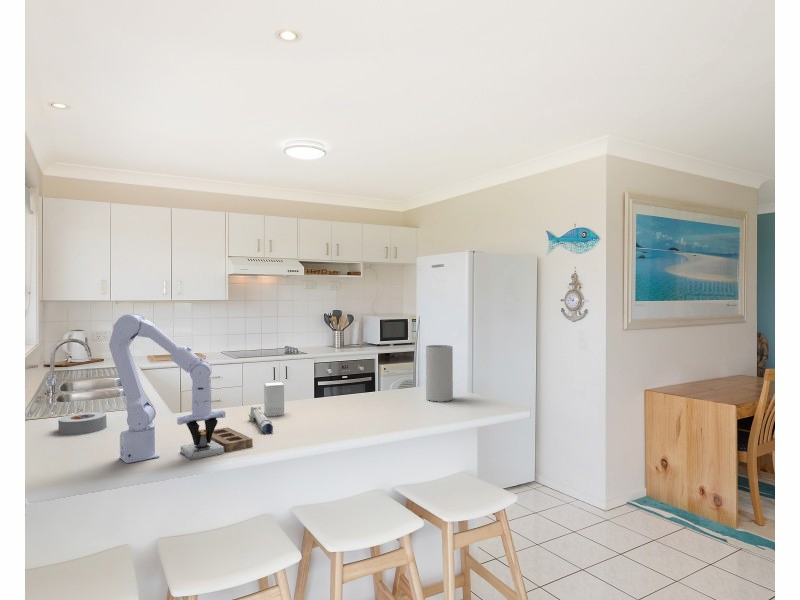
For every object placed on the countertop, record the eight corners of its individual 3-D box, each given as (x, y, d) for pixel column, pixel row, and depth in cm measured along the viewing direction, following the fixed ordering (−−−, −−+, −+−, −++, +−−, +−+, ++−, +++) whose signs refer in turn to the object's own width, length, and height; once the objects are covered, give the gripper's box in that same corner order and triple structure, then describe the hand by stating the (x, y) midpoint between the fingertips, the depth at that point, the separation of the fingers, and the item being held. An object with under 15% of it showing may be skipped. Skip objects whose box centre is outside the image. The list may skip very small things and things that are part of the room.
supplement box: (284, 415, 218) (284, 384, 218) (266, 416, 216) (266, 385, 215) (281, 411, 225) (281, 381, 225) (263, 413, 222) (263, 383, 222)
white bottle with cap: (260, 424, 189) (247, 401, 211) (260, 441, 189) (247, 417, 212) (275, 422, 191) (260, 400, 213) (274, 439, 192) (260, 416, 214)
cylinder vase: (439, 403, 240) (439, 348, 239) (420, 399, 249) (420, 346, 249) (458, 399, 248) (458, 346, 248) (438, 395, 257) (438, 344, 257)
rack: (225, 451, 168) (225, 443, 168) (202, 438, 183) (202, 431, 183) (252, 446, 174) (252, 438, 174) (227, 434, 189) (227, 427, 189)
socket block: (191, 459, 160) (191, 453, 160) (180, 452, 167) (180, 446, 167) (224, 453, 166) (224, 446, 166) (211, 446, 174) (211, 440, 174)
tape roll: (50, 436, 188) (50, 422, 188) (68, 426, 203) (68, 412, 203) (98, 434, 191) (97, 420, 191) (112, 424, 206) (112, 411, 206)
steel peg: (199, 455, 165) (198, 432, 165) (195, 452, 167) (195, 430, 167) (209, 453, 167) (209, 430, 167) (205, 450, 169) (205, 428, 169)
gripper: (182, 405, 159) (182, 451, 159) (229, 399, 168) (229, 441, 169) (174, 402, 164) (175, 445, 164) (220, 396, 174) (220, 437, 174)
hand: (202, 443), depth 167 cm, fingers closed on steel peg, 3 cm apart
